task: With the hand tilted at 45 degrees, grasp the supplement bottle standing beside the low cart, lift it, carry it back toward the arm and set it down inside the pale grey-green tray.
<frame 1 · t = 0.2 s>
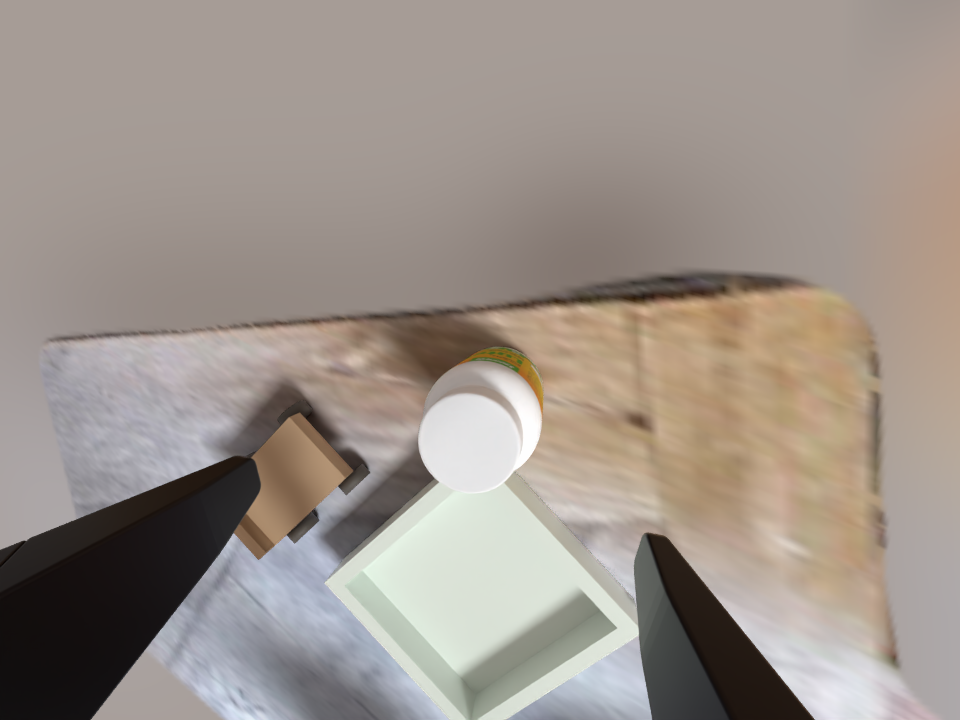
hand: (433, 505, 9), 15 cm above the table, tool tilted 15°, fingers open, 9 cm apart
supplement bottle: (500, 387, 24), on the table
cart: (308, 466, 27), on the table
tray: (479, 577, 26), on the table
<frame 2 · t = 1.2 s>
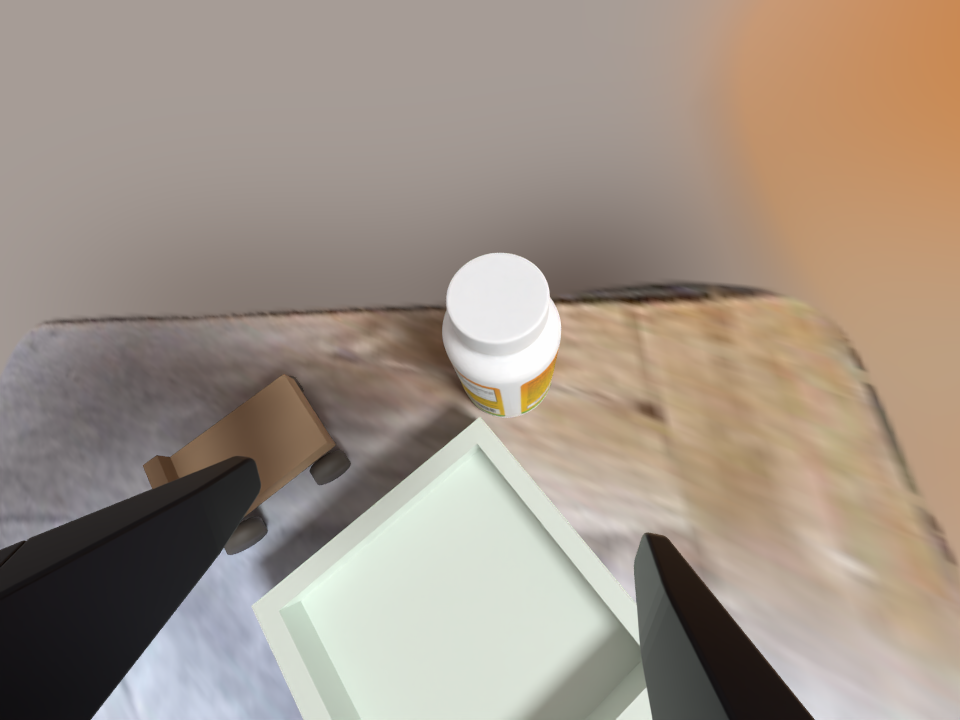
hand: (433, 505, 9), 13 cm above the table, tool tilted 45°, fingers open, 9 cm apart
supplement bottle: (506, 377, 24), on the table
cart: (276, 461, 23), on the table
tray: (464, 622, 19), on the table
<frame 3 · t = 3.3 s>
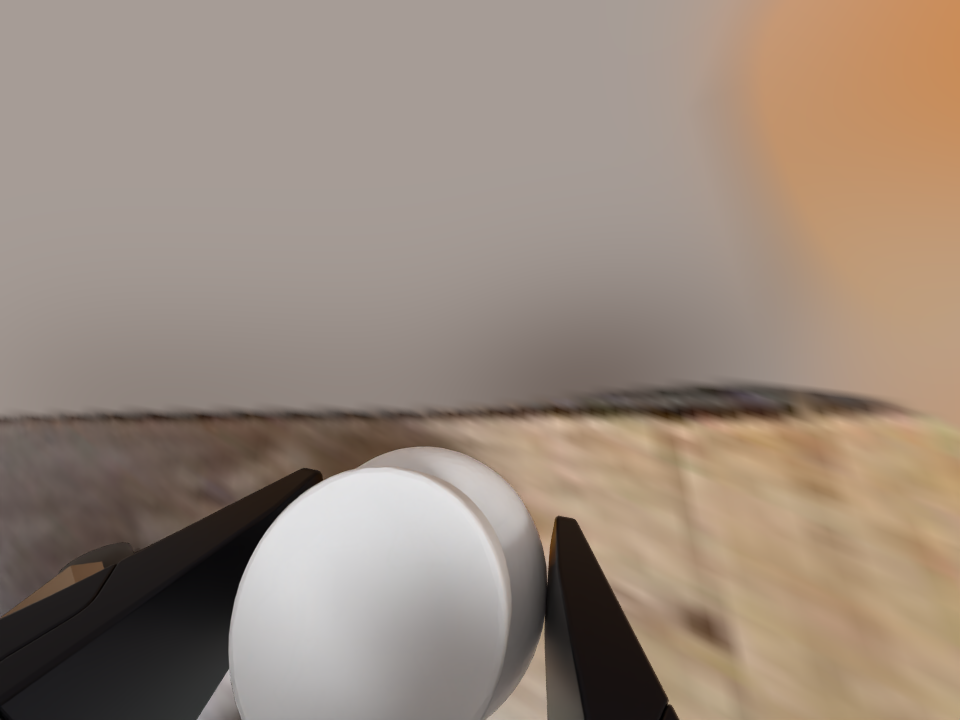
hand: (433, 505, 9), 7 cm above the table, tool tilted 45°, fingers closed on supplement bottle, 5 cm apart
supplement bottle: (464, 544, 14), on the table, touching gripper
cart: (79, 690, 14), on the table
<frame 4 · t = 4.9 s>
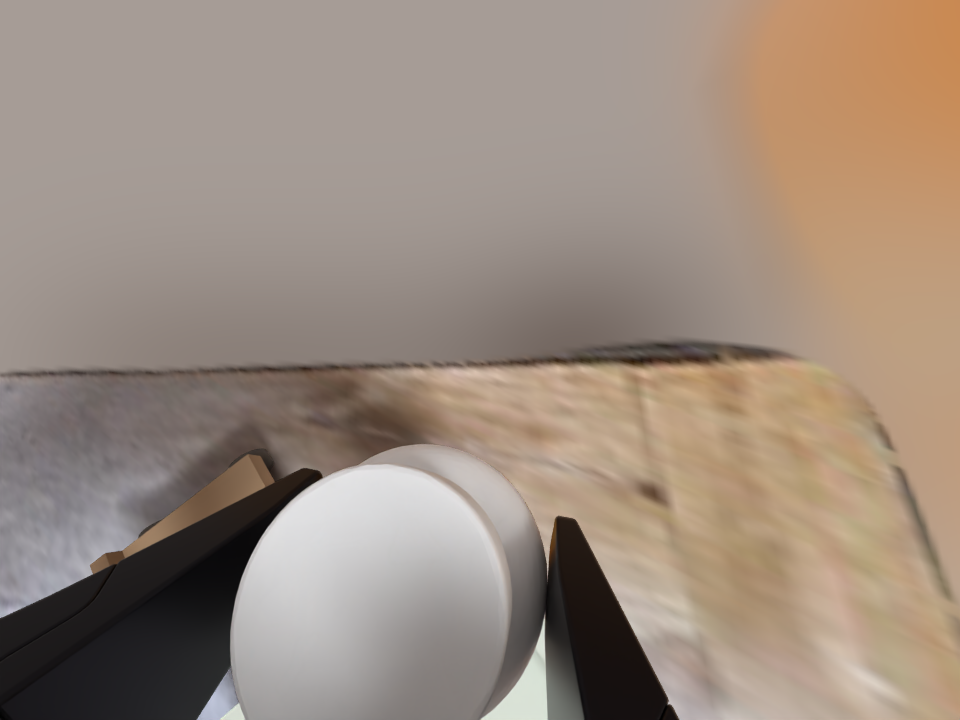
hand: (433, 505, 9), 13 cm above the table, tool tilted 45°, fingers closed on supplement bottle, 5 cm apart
supplement bottle: (465, 542, 14), point 6 cm above the table, touching gripper
cart: (243, 542, 21), on the table
when the fingers open (8 cm above the table, at t = 6.8 s): supplement bottle stays where it is, resting on tray.
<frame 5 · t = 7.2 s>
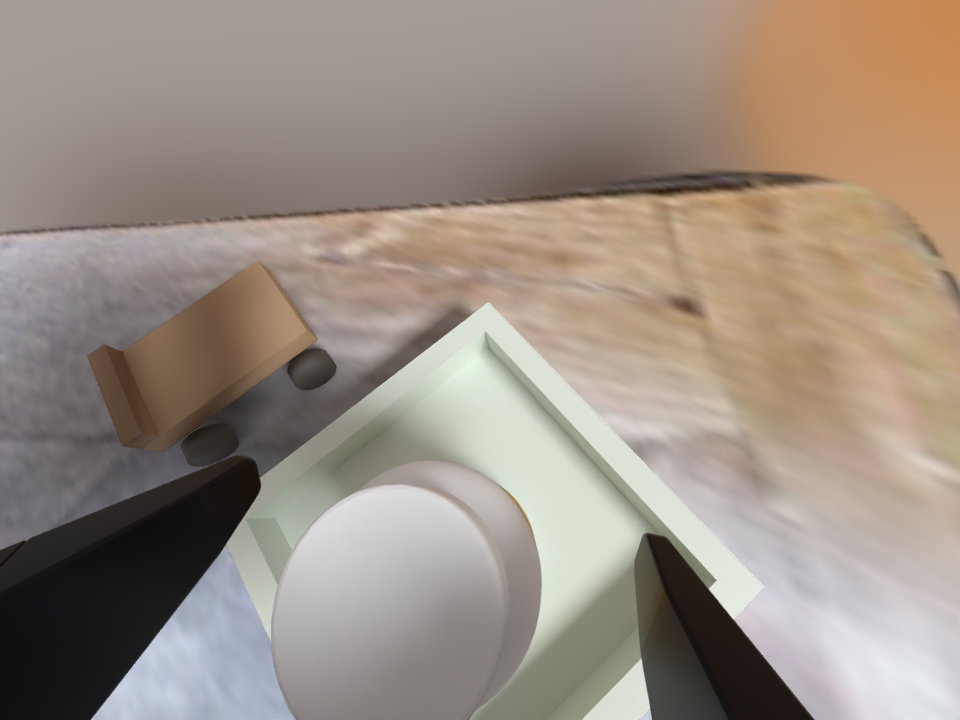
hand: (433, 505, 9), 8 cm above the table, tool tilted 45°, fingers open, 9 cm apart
supplement bottle: (468, 546, 15), resting on tray
cart: (251, 369, 20), on the table
tray: (470, 540, 16), on the table
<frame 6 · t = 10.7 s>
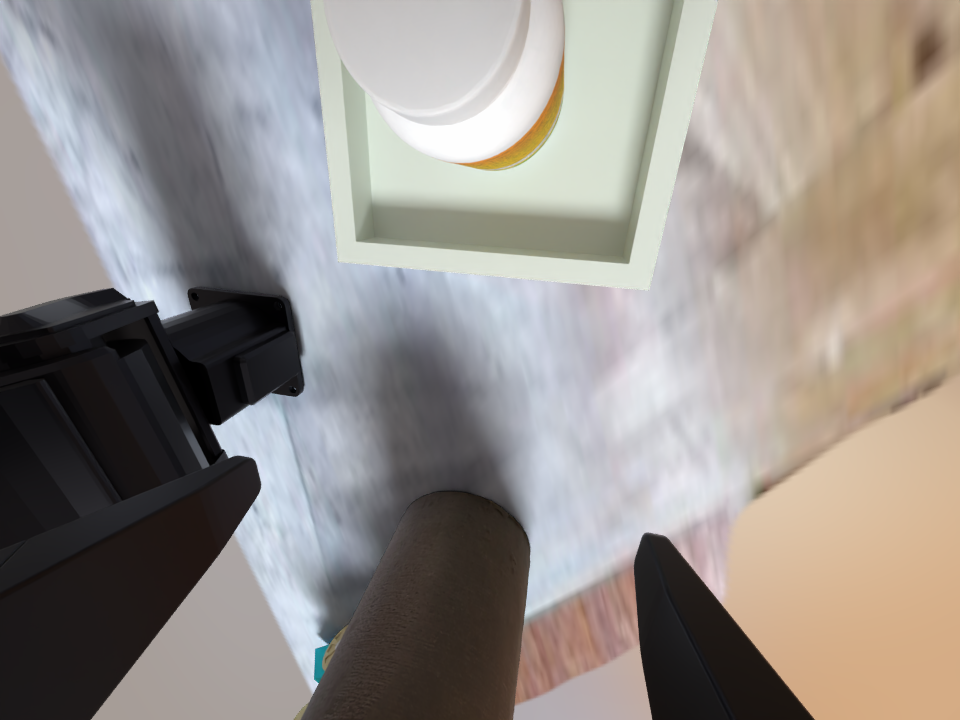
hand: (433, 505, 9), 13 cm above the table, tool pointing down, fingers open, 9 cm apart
toy train: (402, 639, 35), on the table
pillar candle: (462, 539, 28), on the table
supplement bottle: (498, 100, 16), resting on tray
tray: (503, 98, 16), on the table
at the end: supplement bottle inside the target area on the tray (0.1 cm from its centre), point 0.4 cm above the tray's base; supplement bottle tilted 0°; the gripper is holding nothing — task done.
